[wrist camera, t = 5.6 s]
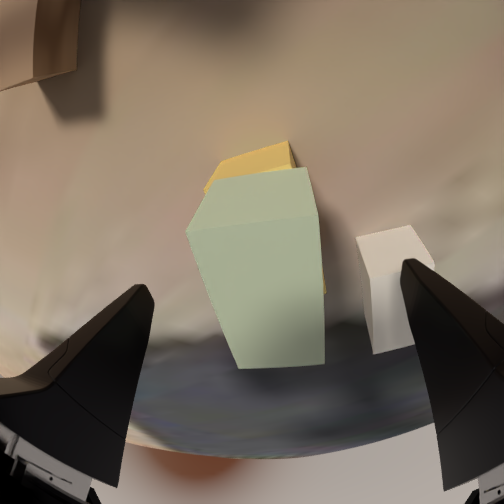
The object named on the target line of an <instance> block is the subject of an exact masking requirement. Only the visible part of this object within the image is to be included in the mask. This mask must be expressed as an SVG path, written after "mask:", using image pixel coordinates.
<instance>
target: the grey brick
mask: <svg viewBox="0 0 504 504" xmlns="http://www.w3.org/2000/svg"><path fill="white" fill-rule="evenodd" d="M355 239H356V246H357V253H358V260H359V268H360V276H361V285H362V295H363V305H364V315H365V319H366V323H367V327H368V332H369V336H370V340H371V345H372V350H373V354H378V353H382V352H386V351H390V350H394V349H398V348H402V347H406V346H410V345H413V344H415V342H414V339H413V336H412V332H411V329H410V326H409V322H408V318H407V313H406V308H405V303H404V299H403V295H402V291H401V286H400V275H401V269H402V262H403V260H404V259H410V258H415V259H417V260H419V261H420V262H421V263H423V264H424V265H426V266H427V267H429V268H430V269H432V270H433V271H434V264H435V262H434V261H433V259H432V258H431V256H430V254H429V253H428V251H427V249H426V248H425V246H424V245H423V243H422V242H421V240H420V239H419V237H418V236H417V234H416V233H415V231H414V230H413V228H412V227H411V225H408V226H403V227H399V228H395V229H390V230H386V231H381V232H377V233H373V234H368V235H364V236H359V237H355Z"/></svg>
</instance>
